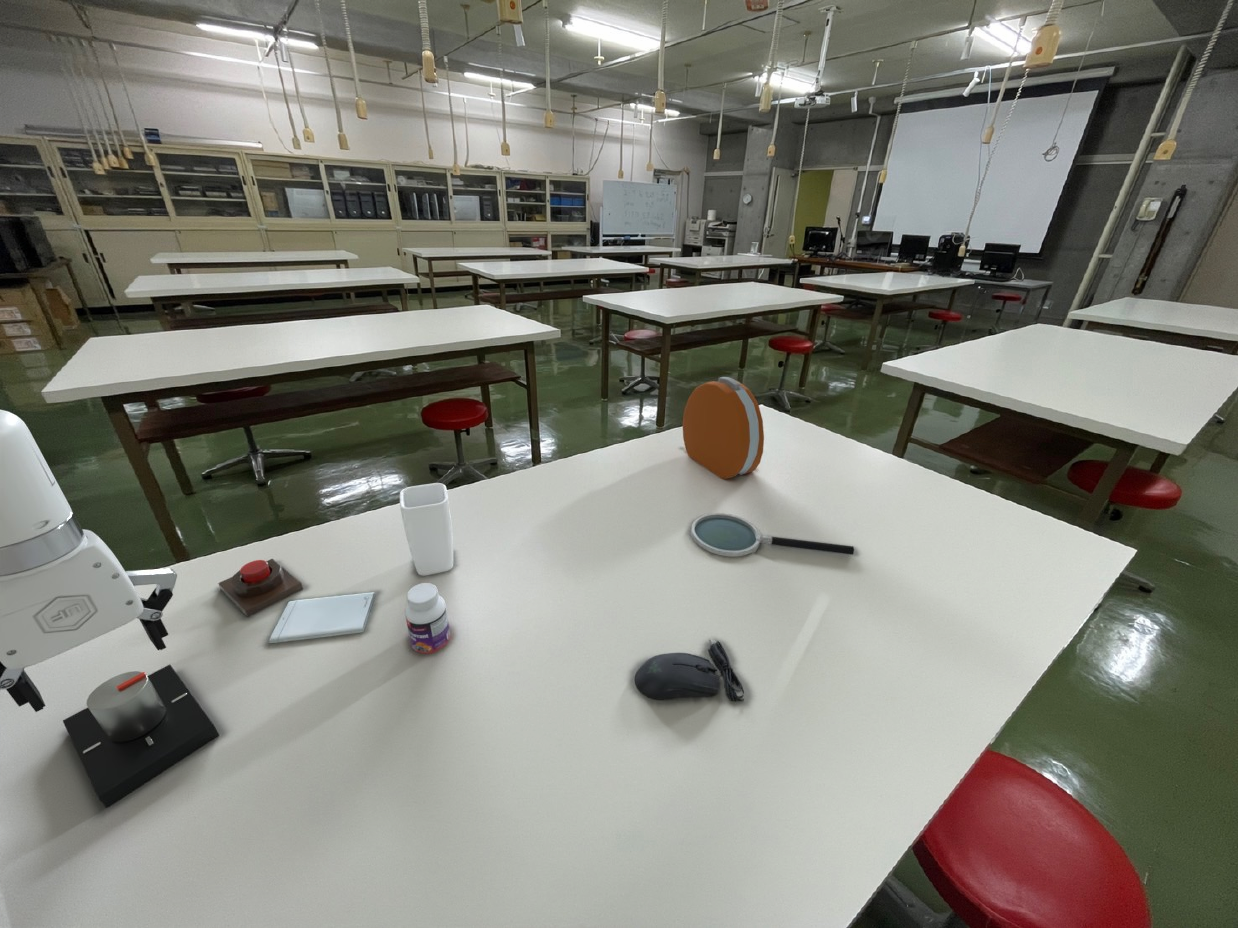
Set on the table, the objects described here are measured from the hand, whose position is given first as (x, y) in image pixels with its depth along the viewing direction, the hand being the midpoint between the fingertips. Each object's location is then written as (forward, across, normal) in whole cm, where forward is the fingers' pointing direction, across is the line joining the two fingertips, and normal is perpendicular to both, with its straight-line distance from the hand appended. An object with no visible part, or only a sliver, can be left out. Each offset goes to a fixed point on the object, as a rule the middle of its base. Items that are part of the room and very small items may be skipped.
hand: (102, 671), depth 54 cm
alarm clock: (+10, +110, -23) cm, 113 cm away
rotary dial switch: (+11, 0, -1) cm, 11 cm away
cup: (+11, +40, -1) cm, 42 cm away
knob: (+8, 0, -1) cm, 8 cm away
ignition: (+12, +19, +15) cm, 27 cm away
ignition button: (+8, +19, +15) cm, 26 cm away
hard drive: (+11, +22, +1) cm, 25 cm away
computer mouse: (+10, +46, -48) cm, 67 cm away
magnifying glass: (+10, +84, -46) cm, 96 cm away
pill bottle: (+11, +29, -15) cm, 35 cm away
